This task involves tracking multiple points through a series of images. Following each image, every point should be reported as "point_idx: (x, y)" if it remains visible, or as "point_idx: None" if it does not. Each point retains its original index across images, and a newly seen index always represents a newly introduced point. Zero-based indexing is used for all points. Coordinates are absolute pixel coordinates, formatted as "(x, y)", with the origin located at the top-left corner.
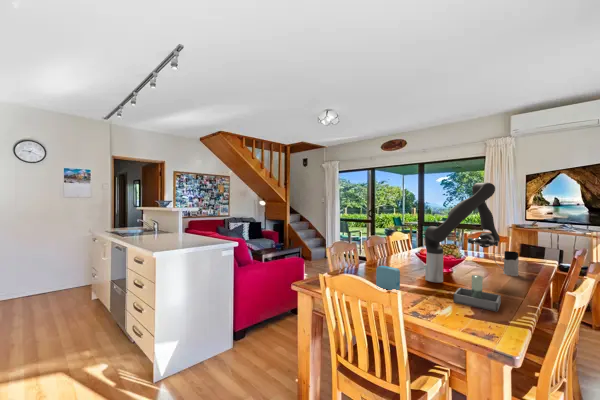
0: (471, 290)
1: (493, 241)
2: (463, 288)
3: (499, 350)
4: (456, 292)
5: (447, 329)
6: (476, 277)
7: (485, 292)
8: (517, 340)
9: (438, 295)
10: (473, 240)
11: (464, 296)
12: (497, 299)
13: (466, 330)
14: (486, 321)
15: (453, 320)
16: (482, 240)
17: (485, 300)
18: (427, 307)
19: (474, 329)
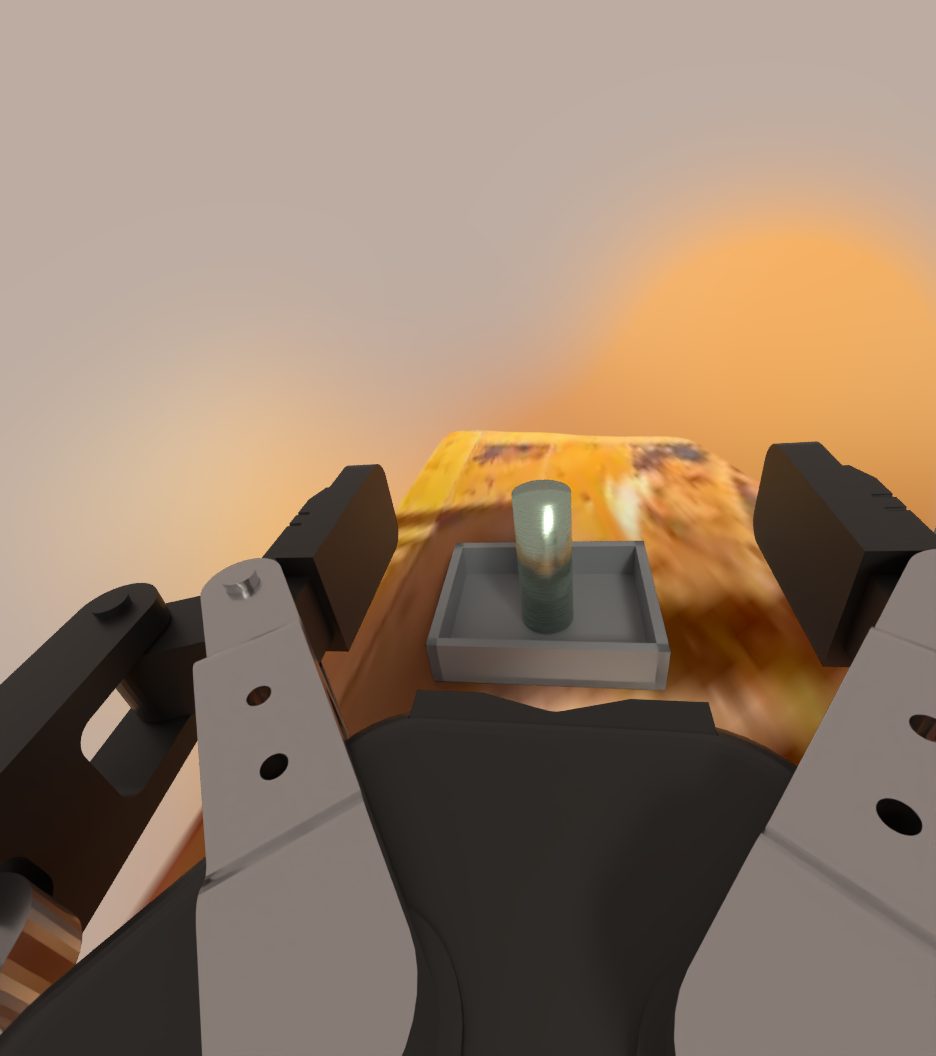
0: (588, 643)
1: (221, 575)
2: (640, 645)
3: (474, 431)
4: (642, 564)
5: (578, 438)
6: (541, 481)
7: (506, 643)
8: (435, 465)
9: (751, 617)
10: (810, 502)
11: (591, 542)
12: (451, 576)
13: (539, 450)
14: (498, 501)
15: (581, 469)
16: (574, 711)
17: (502, 542)
18: (690, 494)
19: (523, 460)
